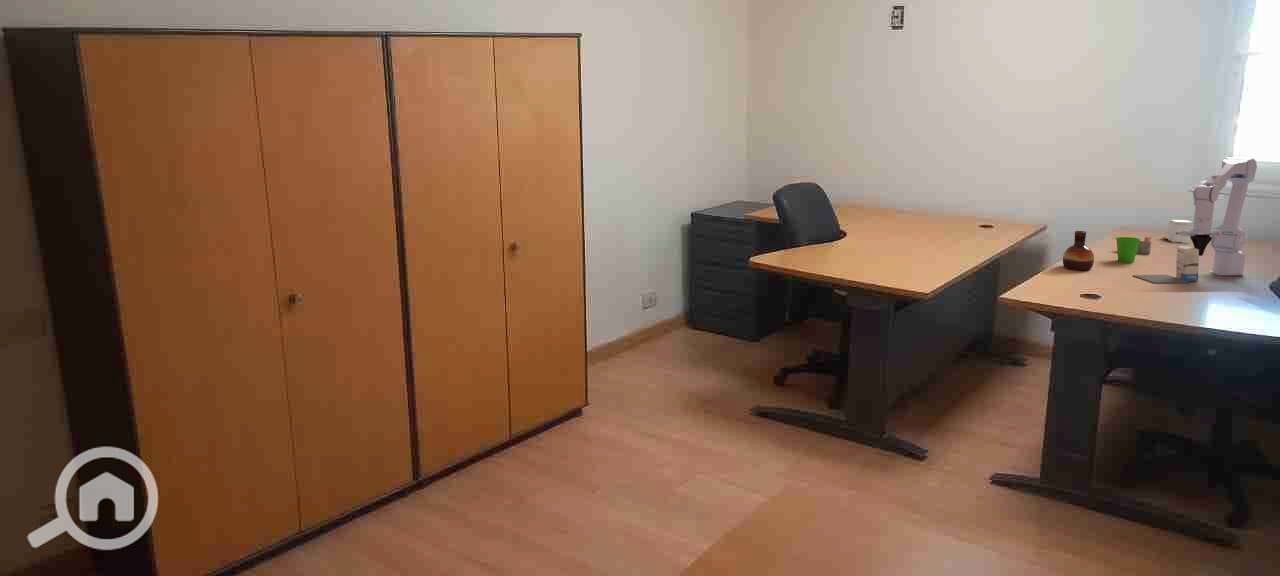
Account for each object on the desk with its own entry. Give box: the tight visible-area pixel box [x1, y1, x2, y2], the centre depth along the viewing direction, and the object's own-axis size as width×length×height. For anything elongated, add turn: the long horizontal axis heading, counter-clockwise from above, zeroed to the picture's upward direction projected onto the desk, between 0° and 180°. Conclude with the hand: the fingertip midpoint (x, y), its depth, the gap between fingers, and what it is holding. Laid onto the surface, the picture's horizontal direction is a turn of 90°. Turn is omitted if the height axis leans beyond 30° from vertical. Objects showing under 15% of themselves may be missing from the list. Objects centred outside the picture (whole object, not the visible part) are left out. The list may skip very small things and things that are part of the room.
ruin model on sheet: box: [1136, 236, 1152, 255], centre depth 384 cm, size 11×3×10 cm, turn 59°
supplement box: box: [1166, 219, 1194, 244], centre depth 407 cm, size 7×7×13 cm
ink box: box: [1175, 245, 1200, 282], centre depth 335 cm, size 9×5×12 cm, turn 168°
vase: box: [1062, 230, 1095, 272], centre depth 355 cm, size 11×11×15 cm
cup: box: [1115, 236, 1142, 264], centre depth 366 cm, size 9×9×11 cm
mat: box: [1132, 274, 1191, 284], centre depth 336 cm, size 13×15×1 cm
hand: (1199, 255), depth 334 cm, fingers closed
